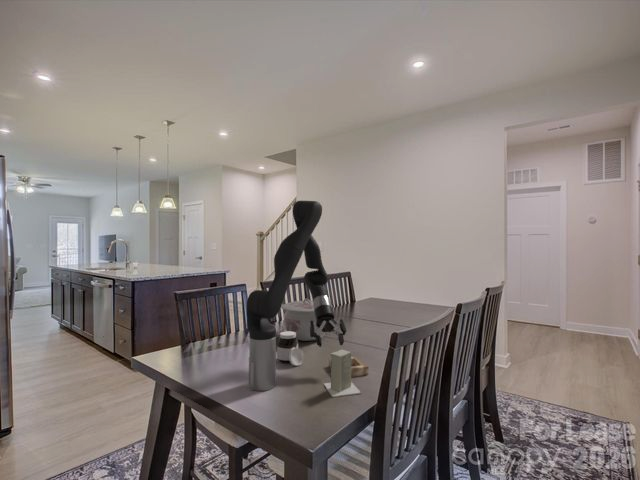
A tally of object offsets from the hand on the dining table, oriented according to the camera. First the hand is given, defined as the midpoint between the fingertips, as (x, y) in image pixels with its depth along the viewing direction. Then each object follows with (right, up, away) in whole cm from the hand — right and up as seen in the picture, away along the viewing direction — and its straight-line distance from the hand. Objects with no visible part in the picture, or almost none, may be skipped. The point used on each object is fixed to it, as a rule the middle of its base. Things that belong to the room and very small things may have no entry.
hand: (331, 345), depth 126 cm
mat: (+3, -11, -12) cm, 17 cm away
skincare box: (+3, -11, -12) cm, 17 cm away
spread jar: (-17, -12, +14) cm, 24 cm away
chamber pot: (-11, -12, +50) cm, 52 cm away
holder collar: (+7, -11, +5) cm, 14 cm away
